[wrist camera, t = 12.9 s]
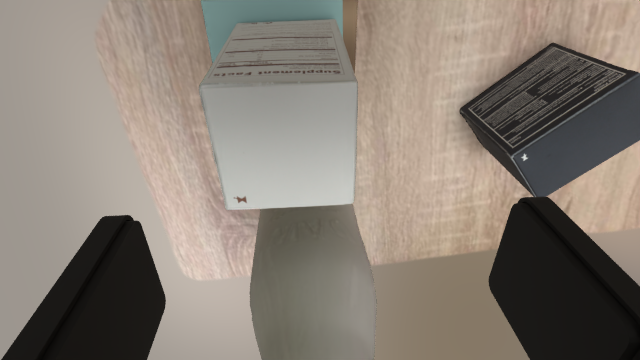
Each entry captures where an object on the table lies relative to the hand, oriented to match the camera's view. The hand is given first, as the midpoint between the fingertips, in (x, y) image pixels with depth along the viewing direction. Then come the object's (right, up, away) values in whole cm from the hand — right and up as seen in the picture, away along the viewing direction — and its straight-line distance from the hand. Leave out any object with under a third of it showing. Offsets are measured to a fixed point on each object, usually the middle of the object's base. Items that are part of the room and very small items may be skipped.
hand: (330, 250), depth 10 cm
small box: (+20, +10, +29) cm, 37 cm away
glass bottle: (-2, +1, +33) cm, 33 cm away
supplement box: (-3, +11, +19) cm, 22 cm away
